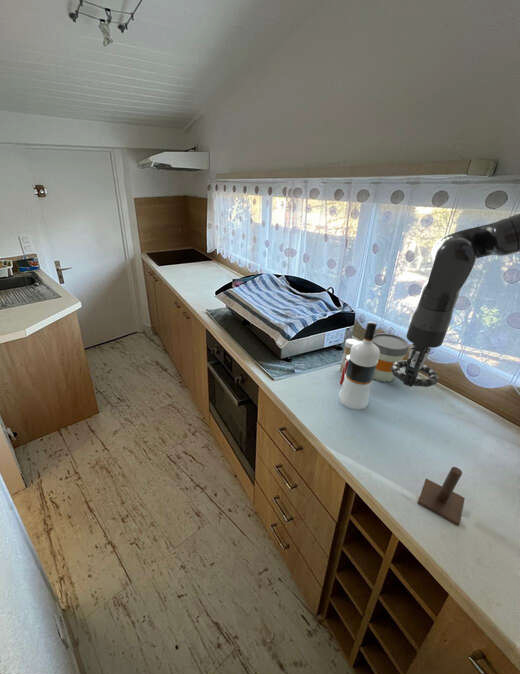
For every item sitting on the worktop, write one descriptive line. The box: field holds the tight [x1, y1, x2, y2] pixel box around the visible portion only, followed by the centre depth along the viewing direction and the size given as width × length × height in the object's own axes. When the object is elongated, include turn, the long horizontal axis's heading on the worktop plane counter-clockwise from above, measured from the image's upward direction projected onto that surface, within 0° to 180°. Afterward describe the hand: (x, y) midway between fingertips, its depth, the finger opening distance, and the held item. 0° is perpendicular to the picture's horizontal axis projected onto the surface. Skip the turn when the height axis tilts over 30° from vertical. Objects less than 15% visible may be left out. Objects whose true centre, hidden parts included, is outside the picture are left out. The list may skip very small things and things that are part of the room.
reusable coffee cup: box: [372, 332, 409, 382], centre depth 114 cm, size 13×13×15 cm
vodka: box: [338, 321, 380, 410], centre depth 97 cm, size 9×9×30 cm
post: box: [417, 466, 466, 527], centre depth 70 cm, size 8×8×11 cm
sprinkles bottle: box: [339, 338, 359, 373], centre depth 117 cm, size 5×5×14 cm
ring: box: [391, 359, 440, 388], centre depth 83 cm, size 11×11×2 cm
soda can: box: [339, 355, 349, 387], centre depth 109 cm, size 5×5×12 cm
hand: (409, 382), depth 80 cm, fingers closed on ring, 2 cm apart
